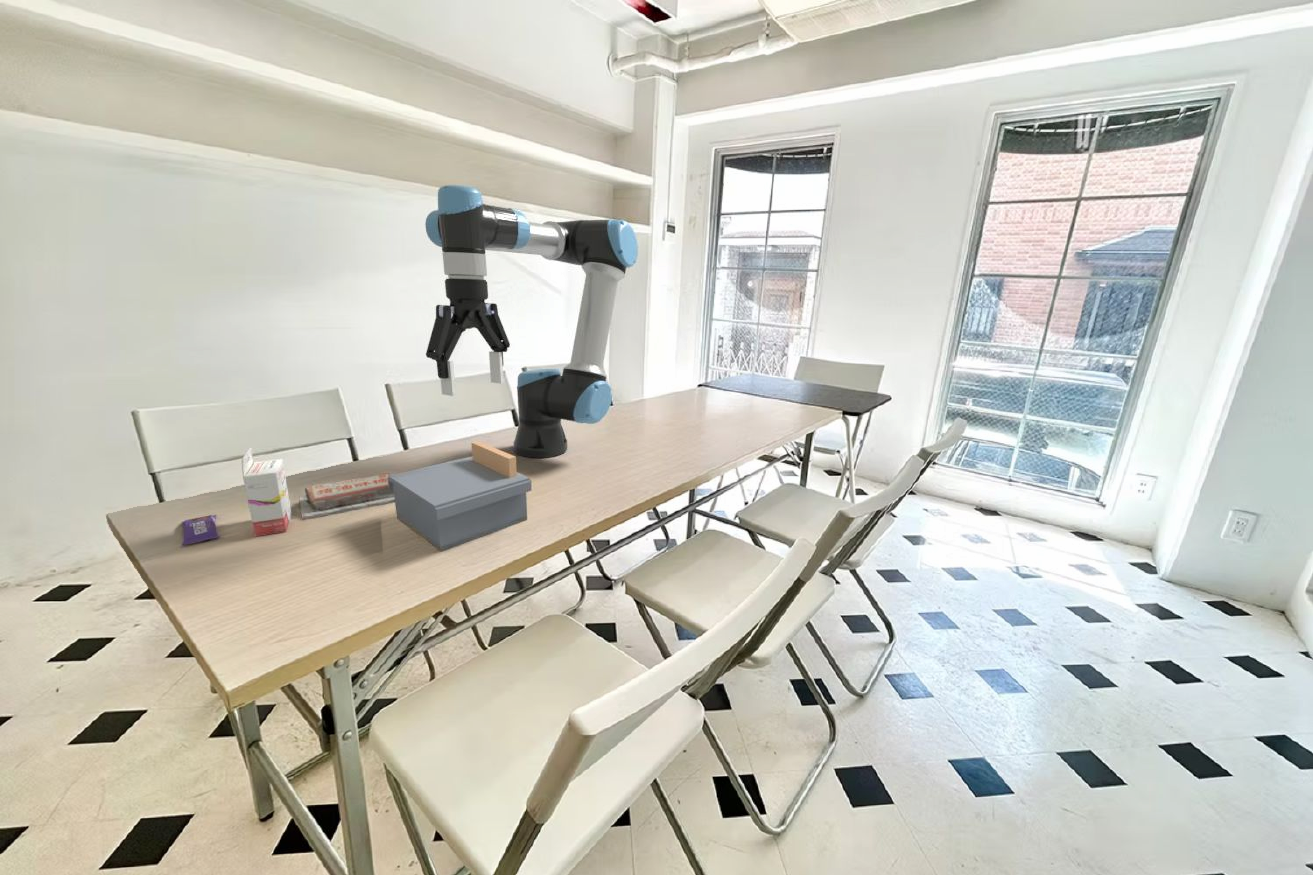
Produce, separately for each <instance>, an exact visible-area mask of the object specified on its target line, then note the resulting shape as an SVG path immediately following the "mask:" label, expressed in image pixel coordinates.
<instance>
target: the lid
mask: <svg viewBox="0 0 1313 875" xmlns="http://www.w3.org/2000/svg"><path fill="white" fill-rule="evenodd" d="M470 444H471V456H468V457H463V458H459V459H454V460H450V461H447V462H446V461H445V462H443V463H442V462H441V463H437V464H434V465H429V466H425V467H419V468H417V469H412V470H408V471H403V472H399V473H394V474H393V475H390V476H388V477H387V481H388V487H389V488H391V487H393V484H394V485H396V486H398V487H399V488H401V489H402V490H404V491H405V492H407V493H408V494H410V495H411V496H413V497H414V498H416V499H417V500H419V501H420V502H422V503H423V504H425V505H427V506H428V507H430V508H431V509H433V510H434V511H435V514H436V520H440V519H443V518H447V517H450V516H453V515H456V514H459V513H462V512H466V511H469V510H472V509H475V508H478V507H481V506H484V505H488V504H491V503H494V502H497V501H500V500H503V499H506V498H510V497H513V496H516V495H519V494H522V493H525V492H526V493H528V492H531V491H532V480H530V477H528V476H526V475H524V474H522V473H520V472H518V471H517V457H516V456H515V455H513V454H510V453H508V452H505V451H502V450H501V449H498V448H497V447H494V446H491V445H489V444H486V443H483V442H481V441H479V440H478V441H473V442H471V443H470Z"/></svg>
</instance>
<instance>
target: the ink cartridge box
mask: <svg viewBox="0 0 1313 875" xmlns="http://www.w3.org/2000/svg"><path fill="white" fill-rule="evenodd" d="M241 469H242V470H241V472H242V479H243V483H244V484H243V486H244V487H245V493H246V494H245V495H246V499H247V503H248V508H249V512H250V517H251V523H252V527H253V532H254V536H255V537H258V536H265V535H272V534H278V533H285V532H287V530H288V527H289V524H290V521H291V518H292V514H293V513H292V512H293V511H292V507H291V502H290V496H289V490H288V484H287V477H286V472H285V466H284V459H283V458H279V459H278V458H277V459H270V460H263V461H254V459H253V448H252V447H250V448H249V449H248V450H247V452H245V454H244V456H242V458H241Z"/></svg>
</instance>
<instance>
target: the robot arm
mask: <svg viewBox="0 0 1313 875" xmlns="http://www.w3.org/2000/svg"><path fill="white" fill-rule="evenodd" d="M424 225H425V231H426V232H425V233H426V235H427V237H428V238H429V240H430V241H431V242H432V244H434V245H435V246H437V247H439V248H441V250H442V253H441V254H442V262H443V263H442V264H443V272H444V275H446V276H447V278H445V280H444V284H445V286H444V287H445V296H446V298H447V299H449V305H447V304H446V305H445V304H437V305H436V306H435V320H434V323H433V326H432V327H433V328H432V331H431V334H430V338H429V342H428V345H427V349H426V352H425V356H426V357H427V358H428V359H431V360H433V361H436V370H437V376H438V378H439V379H440V387H441V388H440V389H441V395H443V396H450V397H454V396H457V390H456V383H455V382H456V380H455V378H456V377H455V370H454V368H455V367H454V360H450V359H451V356H452V354H453V352H454V350H455V348H456V346H457V344H458V342H459V340H460V338H461V336H462V333H464V332H466V330H467V329H468V330H470V329H477V330H478V332H479V333H480V335H481V336H482V337H483V339H484V341H485V342H486V343H487V345H488V346H489V347H490V349H491V350H492V351H488V359H489V373H490V383H493V384H501V385H502V384H504V371H503V369H504V368H503V367H504V353H507V351H508V349H509V348H510V346H511V343H510V341H509V338H508V335H507V334H506V333H507V332H506V330H505V328H504V326H503V323H502V320H501V318H500V316H499V310H498V309H499V308H498V305H497V303H494V302H493V303H491V302H485V301H486V300H488V298H489V291H488V288H489V287H488V281H487V279H485V277H487V276H488V270H487V259H486V258H487V256H486V251H492V252H493V251H494V252H504V253H512V254H513V253H514V254H515V253H516V254H527V255H535V256H536V255H538V256H541V257H542V258H543V259H545V260H549V261H556V262H561V263H565V264H570V265H575V266H581V269H582V270H583V272H584V274H585V277H584V278H585V279H584V284H583V290H582V297H581V303H580V307H579V311H578V312H579V313H578V319H577V324H576V328H575V334H574V340H573V345H572V352H571V359H570V362H569V363H568V364H567V365H565V367H563V368H562V373H561V370H560V369H559V368H542V369H541V368H539V369H533V370H532V369H531V370H525V371H522V372H520V373H519V374H518V375H517V386H516V390H517V393H516V394H517V407H518V408H517V411H518V426H517V429H516V433H515V437H514V441H513V444H512V445H513V452H514V453H515V454H516V455H518V456H521V457H525V458H532V459H533V458H535V459H536V458H540V459H541V457H543V458H550V457H551V458H552V457H556V455H557V456H559V455H562V453H563V452H565V451H566V450H567V451H568V449H567V448H568V439H567V436H566V434H565V431H564V428H563V426H562V420H564V421H570V422H573V423H577V424H586V425H587V424H589V425H592V424H597V423H599V422H600V421H601V420H602V419H603V418H604V417H605V416H606V415H607V413H608V411H609V410H610V407H611V404H612V398H613V394H612V387H611V385H610V384H609V383H607V375H606V373H605V372H604V370H603V366H604V361H605V357H606V356H605V355H606V350H607V344H608V339H609V334H610V327H611V324H612V323H611V322H612V316H613V311H614V306H615V300H616V294H617V288H618V283H619V281H621V280H622V279H624V278H625V275H626V271H627V269H629V268H631V267H633V266H634V265H635V264H636V262H637V259H638V252H639V251H638V250H639V249H638V248H639V247H638V239H637V237H636V232H635V231H634V228H633V227H632V226H631V224H630V223H629V222H627V221H626V220H624V219H614V218H609V219H589V220H588V219H585V220H584V219H580V220H579V219H578V220H568V221H550V220H549V221H545V222H543V223H538V222H532V221H530V220H529V219H528V217H527V216H526V215H525V214H524V213H523V212H522V211H519V210H516V209H513V208H511V207H509V208H506V207H501V206H496V205H491V204H490V205H489V204H485V203H484V200H483V197H482V193H481V191H480V190H479V189H477V188H475V187H470V186H464V185H452V184H451V185H450V184H449V185H448V184H447V185H443V186H441V187H440V188H439V189H438V191H437V209H436V210H433V211H431V212H429V214H427V216H426V218H425V224H424ZM567 451H566V452H567ZM566 452H565V453H566ZM563 454H564V453H563Z"/></svg>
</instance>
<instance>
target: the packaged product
mask: <svg viewBox="0 0 1313 875" xmlns="http://www.w3.org/2000/svg"><path fill="white" fill-rule="evenodd" d="M390 475H394V474H393V473H391V472H390V473H383V474H382V473H381V474H375V475H370V476H362V477H358V478H349V479H345V480H339V481H332V482H327V483H319V484H315V485H314V484H313V485H310V486H306V487H305V488H304V490H305V496H301V497H298V502H299V506H300V515H301V517H302V519H303V521H306V520H312V519H317V518H320V517H325V516H330V515H337V514H341V513H342V514H343V513H348V512H352V511H358V510H363V509H369V508H373V507H376V506H383V505H386V504H392V503H395V498H394V489H393V487H391V488H389V487H388V481H387V477H388V476H390Z"/></svg>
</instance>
